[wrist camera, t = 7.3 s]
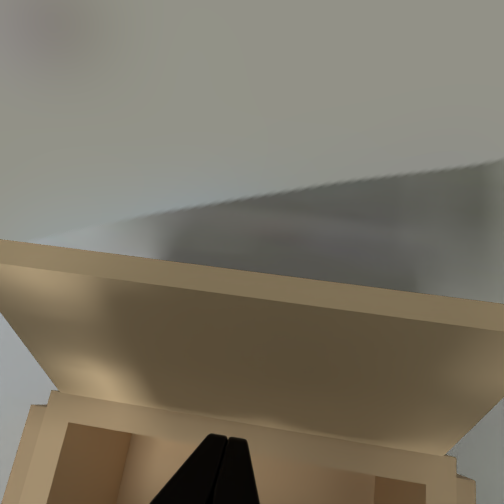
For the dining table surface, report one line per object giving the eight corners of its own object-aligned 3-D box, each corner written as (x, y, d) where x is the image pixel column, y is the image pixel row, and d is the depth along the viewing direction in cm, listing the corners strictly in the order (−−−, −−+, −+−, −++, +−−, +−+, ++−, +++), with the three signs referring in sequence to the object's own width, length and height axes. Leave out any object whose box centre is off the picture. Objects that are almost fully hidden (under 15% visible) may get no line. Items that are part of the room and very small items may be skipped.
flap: (562, 339, 7) (551, 310, 8) (-40, 258, 8) (-22, 236, 9) (443, 456, 12) (439, 434, 12) (60, 392, 13) (69, 373, 13)
